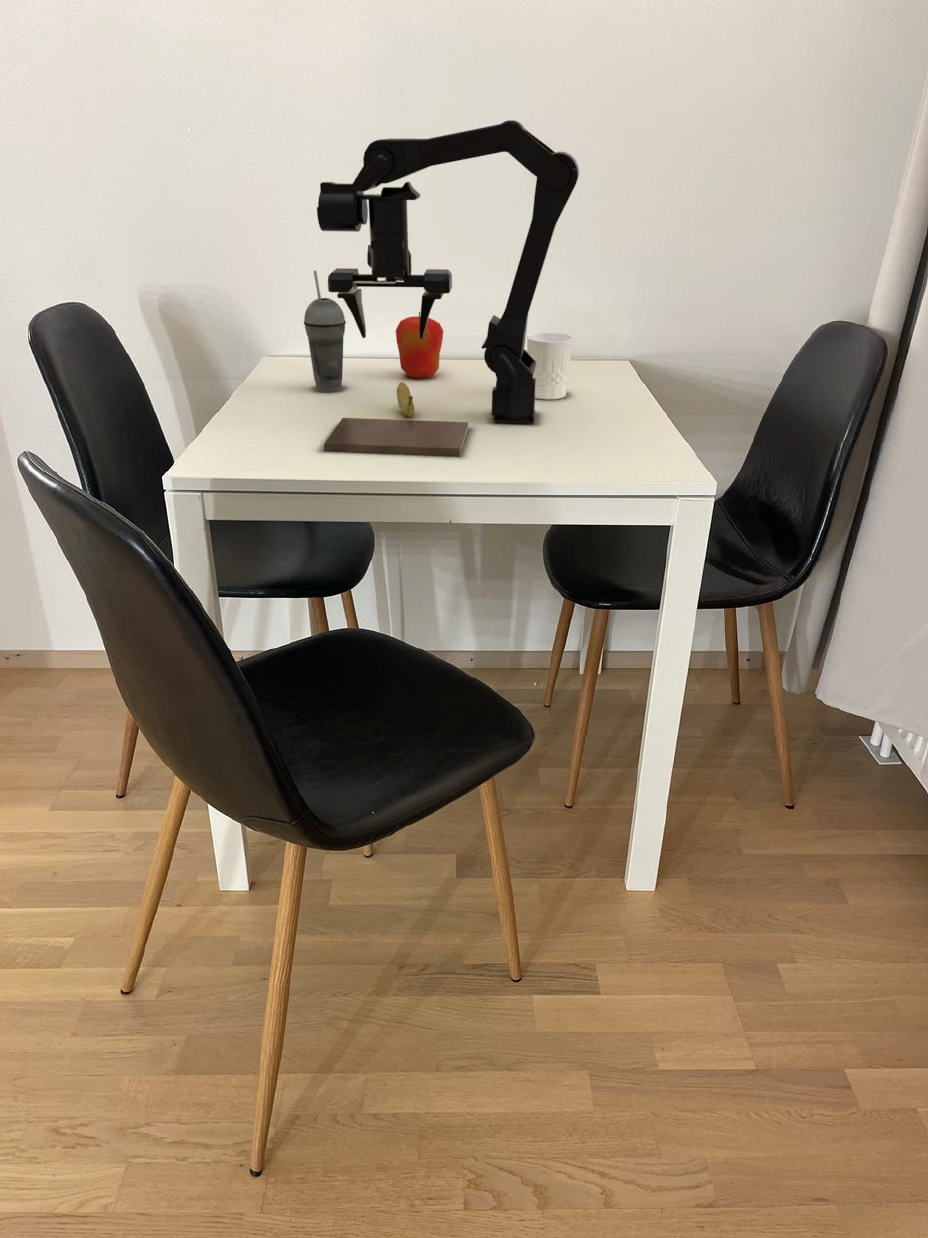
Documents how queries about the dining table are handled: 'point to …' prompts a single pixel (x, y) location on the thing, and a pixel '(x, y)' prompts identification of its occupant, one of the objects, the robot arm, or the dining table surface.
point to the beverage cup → (325, 341)
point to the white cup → (550, 363)
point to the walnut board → (398, 437)
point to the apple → (419, 347)
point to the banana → (405, 399)
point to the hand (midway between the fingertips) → (392, 337)
